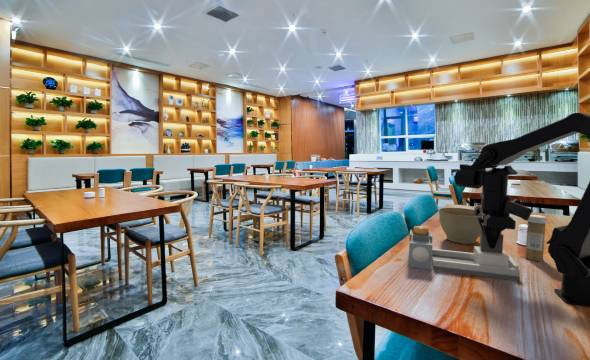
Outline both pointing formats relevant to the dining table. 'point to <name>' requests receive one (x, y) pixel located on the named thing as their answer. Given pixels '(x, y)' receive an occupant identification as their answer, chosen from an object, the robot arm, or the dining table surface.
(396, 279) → the dining table surface
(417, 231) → the button
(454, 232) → the planter bowl
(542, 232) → the sprinkles bottle
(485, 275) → the rail track
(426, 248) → the cabinet
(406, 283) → the dining table surface
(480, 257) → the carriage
